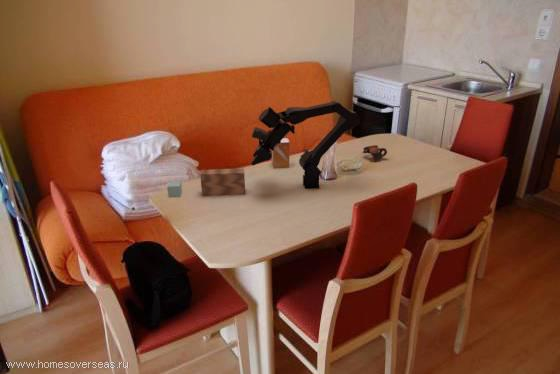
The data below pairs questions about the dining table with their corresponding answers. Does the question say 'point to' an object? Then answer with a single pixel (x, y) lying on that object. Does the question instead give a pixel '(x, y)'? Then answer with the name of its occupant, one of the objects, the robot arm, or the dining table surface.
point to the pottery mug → (375, 152)
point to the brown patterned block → (222, 182)
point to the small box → (281, 154)
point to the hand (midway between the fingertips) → (252, 160)
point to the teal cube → (174, 189)
